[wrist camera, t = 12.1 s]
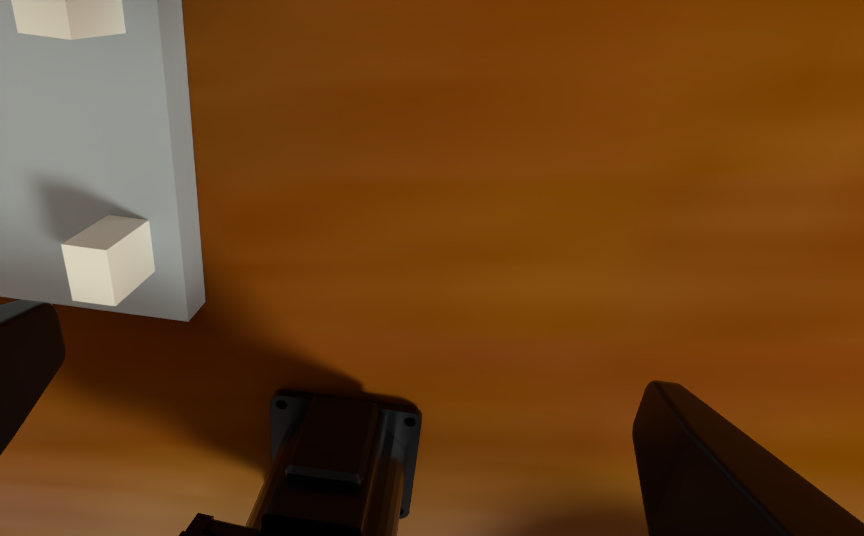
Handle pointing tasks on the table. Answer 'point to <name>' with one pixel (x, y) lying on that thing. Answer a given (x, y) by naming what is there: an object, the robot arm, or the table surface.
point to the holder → (98, 157)
